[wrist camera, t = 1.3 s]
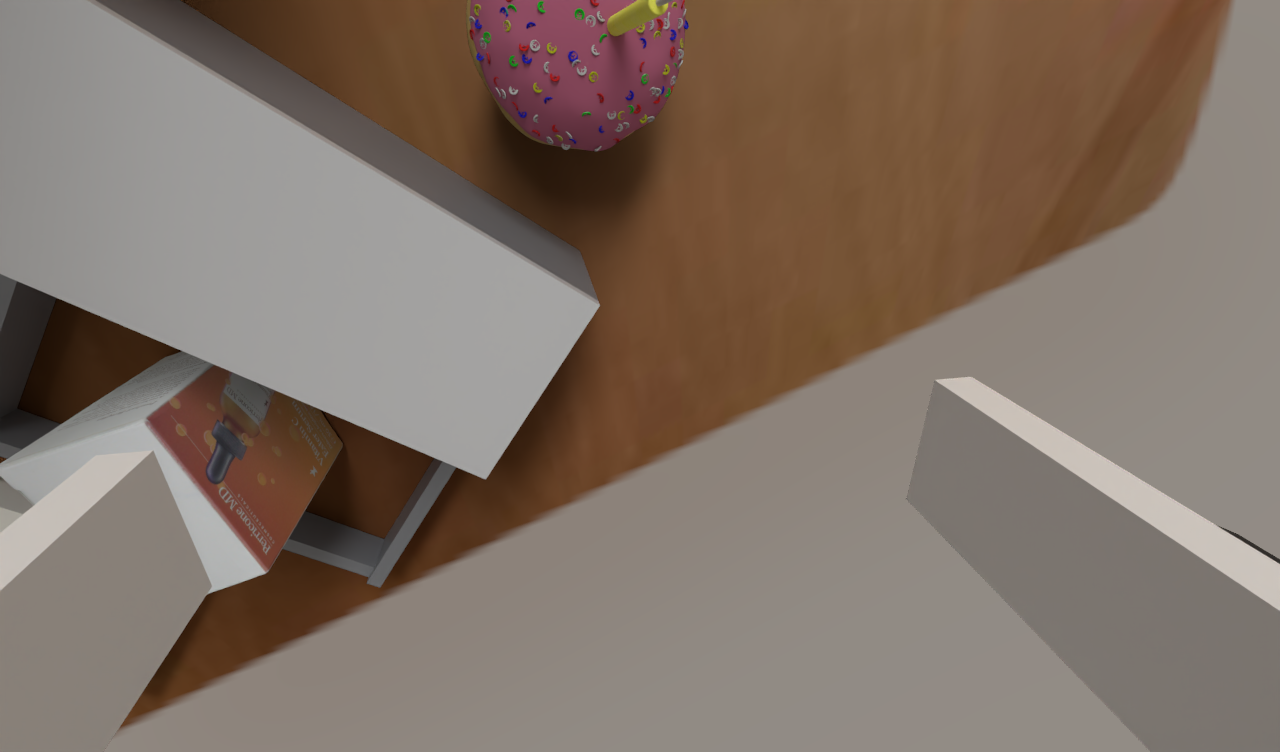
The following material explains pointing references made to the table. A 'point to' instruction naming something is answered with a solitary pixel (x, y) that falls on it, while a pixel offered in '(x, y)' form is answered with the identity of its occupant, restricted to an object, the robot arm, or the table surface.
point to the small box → (201, 457)
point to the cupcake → (577, 64)
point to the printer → (267, 244)
